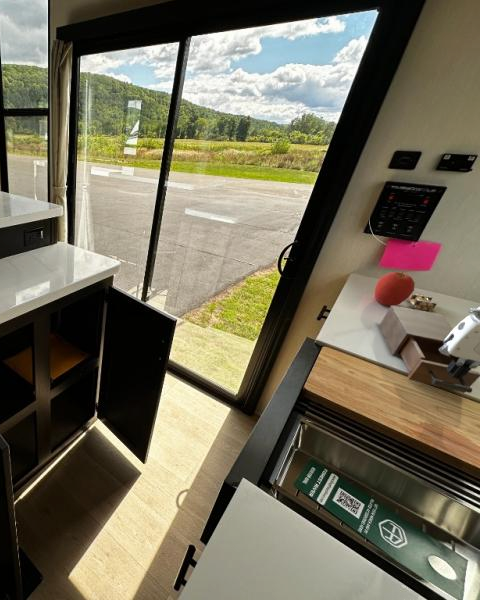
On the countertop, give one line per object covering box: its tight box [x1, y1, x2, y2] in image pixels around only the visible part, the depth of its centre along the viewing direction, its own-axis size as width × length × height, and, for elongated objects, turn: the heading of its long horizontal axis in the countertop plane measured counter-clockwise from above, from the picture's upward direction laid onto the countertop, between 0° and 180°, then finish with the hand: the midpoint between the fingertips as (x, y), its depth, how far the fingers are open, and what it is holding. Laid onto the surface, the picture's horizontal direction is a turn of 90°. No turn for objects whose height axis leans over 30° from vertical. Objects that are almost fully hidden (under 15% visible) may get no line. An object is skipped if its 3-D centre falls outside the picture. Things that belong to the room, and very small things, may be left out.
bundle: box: [407, 293, 438, 313], centre depth 118 cm, size 8×6×3 cm
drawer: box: [399, 336, 480, 394], centre depth 88 cm, size 20×11×7 cm, turn 153°
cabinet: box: [378, 305, 454, 358], centre depth 99 cm, size 17×13×9 cm
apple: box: [374, 271, 416, 307], centre depth 118 cm, size 10×10×14 cm
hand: (453, 374), depth 82 cm, fingers closed
